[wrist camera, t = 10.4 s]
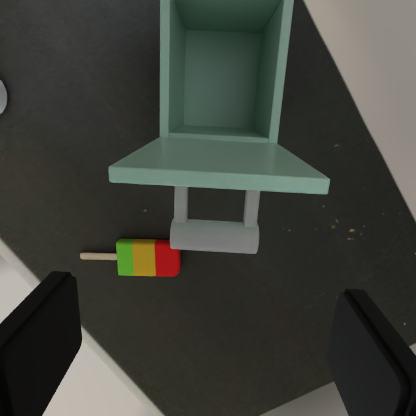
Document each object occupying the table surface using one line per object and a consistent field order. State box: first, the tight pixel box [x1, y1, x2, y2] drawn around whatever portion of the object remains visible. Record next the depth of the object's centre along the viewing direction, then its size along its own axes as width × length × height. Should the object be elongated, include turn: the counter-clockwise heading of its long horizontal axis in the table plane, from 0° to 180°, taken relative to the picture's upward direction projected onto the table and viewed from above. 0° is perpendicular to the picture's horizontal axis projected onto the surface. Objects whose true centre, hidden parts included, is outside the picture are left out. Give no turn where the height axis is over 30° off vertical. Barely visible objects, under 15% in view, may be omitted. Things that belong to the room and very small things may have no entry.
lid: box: [109, 137, 330, 254], centre depth 22 cm, size 14×11×5 cm
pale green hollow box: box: [160, 0, 294, 144], centre depth 33 cm, size 13×11×14 cm
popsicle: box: [80, 239, 181, 277], centre depth 46 cm, size 6×15×2 cm, turn 89°
